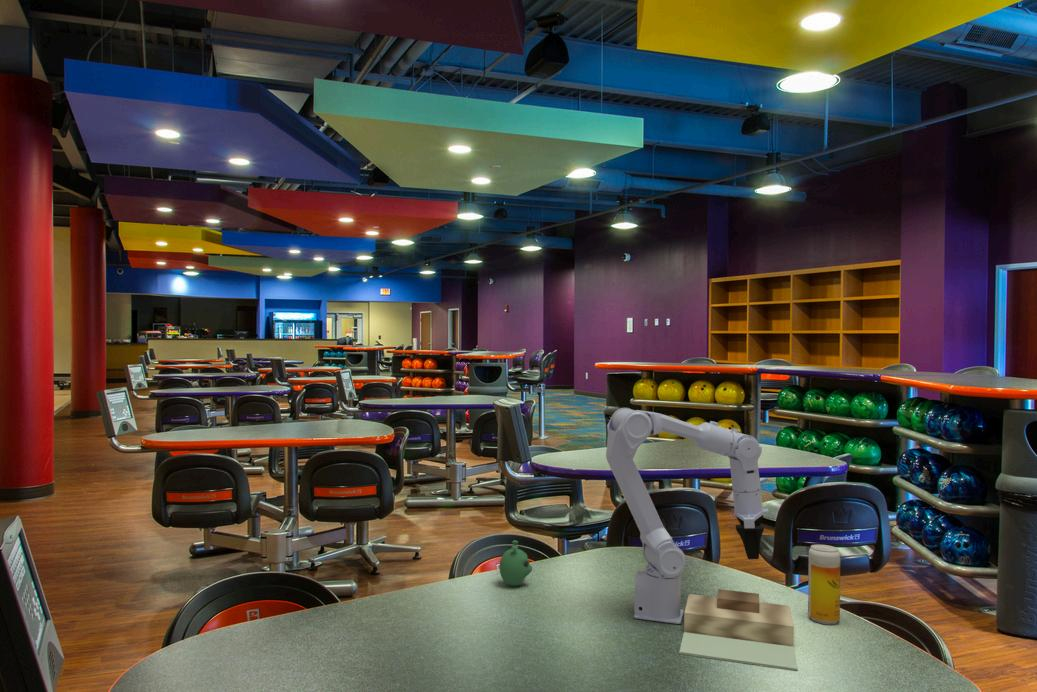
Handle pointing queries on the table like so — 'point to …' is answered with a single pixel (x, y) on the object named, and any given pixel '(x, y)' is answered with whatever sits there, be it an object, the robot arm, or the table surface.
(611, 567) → the table surface
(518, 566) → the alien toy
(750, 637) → the birch deck
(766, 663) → the sage mat
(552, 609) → the table surface
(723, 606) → the walnut tile
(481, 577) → the table surface
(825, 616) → the beer can
